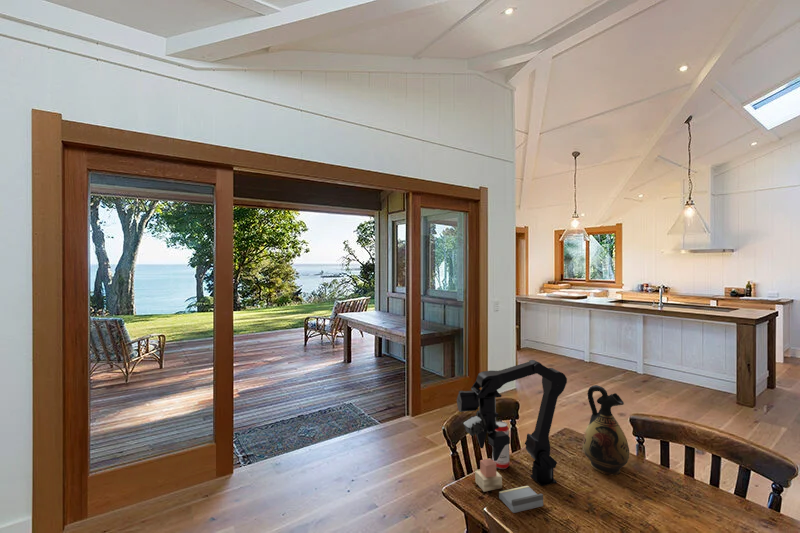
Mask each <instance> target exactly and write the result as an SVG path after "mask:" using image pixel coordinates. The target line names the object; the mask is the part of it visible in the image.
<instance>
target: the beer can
mask: <svg viewBox="0 0 800 533" xmlns="http://www.w3.org/2000/svg"><path fill="white" fill-rule="evenodd" d="M496 424H497V425H498V426H499V429H495V431H496V432H498V431H503V432H504V433H505V434H507V435H508V436H509V437H510V430H509V429H510V428H509V427H508V423H507V422H506V421H503V420H496ZM491 455H492V458H491V459H492V461H494V459H493V452H492V454H491ZM494 462H495V463H496V469H500V470H506V469H507V468H508V467H509V466H510V444H508V445H505V447H504V448H503V450H502V452H501V454H500V456H499V458H498V460H497V461H494Z"/></svg>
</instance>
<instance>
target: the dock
mask: <svg viewBox="0 0 800 533" xmlns="http://www.w3.org/2000/svg"><path fill="white" fill-rule="evenodd" d="M498 498H499V500H500V501H502V503H503V504H505V506H506V507H507V508H508V509H509V511H511V512H512V513H513V514H515V513H520V512H523V511H528V510H532V509H535V508H541V507H543V506H544V494H543V493H536V491H534V490H533V488H531V487H530V486H529V485H524V486H519V487H514V488H509V489H505V490H501V491H498Z"/></svg>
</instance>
